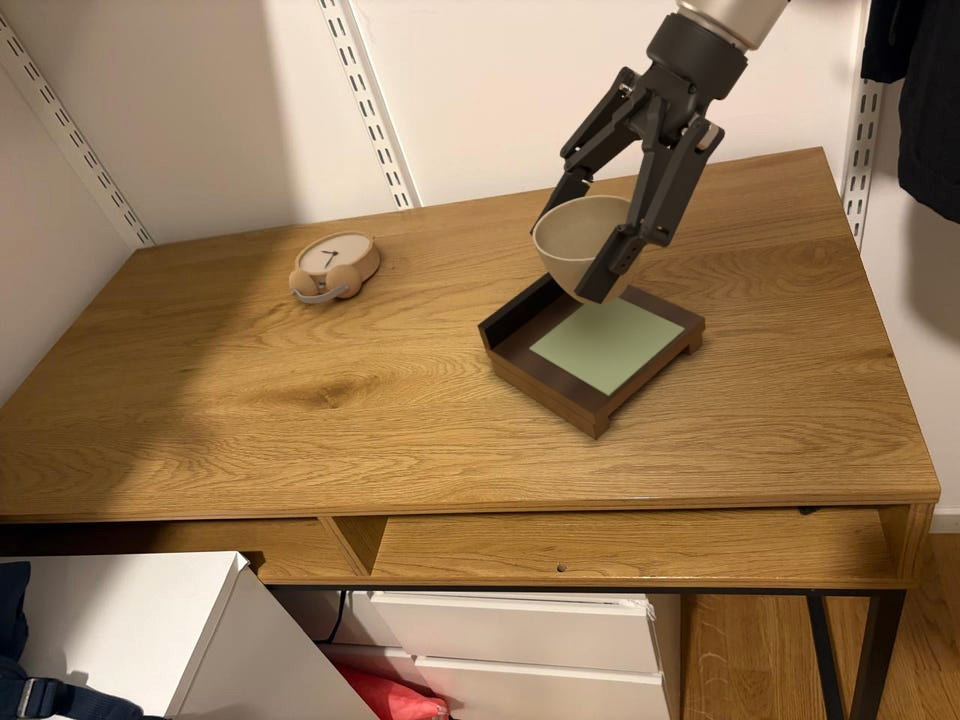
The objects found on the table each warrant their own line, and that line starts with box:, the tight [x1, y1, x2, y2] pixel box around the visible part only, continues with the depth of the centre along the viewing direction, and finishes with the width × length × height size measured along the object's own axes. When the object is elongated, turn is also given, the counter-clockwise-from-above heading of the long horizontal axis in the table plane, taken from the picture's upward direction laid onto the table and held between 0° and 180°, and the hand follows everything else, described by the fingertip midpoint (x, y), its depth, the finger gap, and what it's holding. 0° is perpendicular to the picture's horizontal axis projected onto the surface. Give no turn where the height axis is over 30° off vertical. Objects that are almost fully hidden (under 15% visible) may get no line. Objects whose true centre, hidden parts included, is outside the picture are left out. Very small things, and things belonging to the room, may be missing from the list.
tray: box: [476, 271, 707, 440], centre depth 76 cm, size 16×16×7 cm
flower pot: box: [532, 194, 644, 305], centre depth 68 cm, size 10×10×7 cm
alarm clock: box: [288, 229, 381, 305], centre depth 101 cm, size 11×5×15 cm
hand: (563, 266), depth 68 cm, fingers closed on flower pot, 10 cm apart
